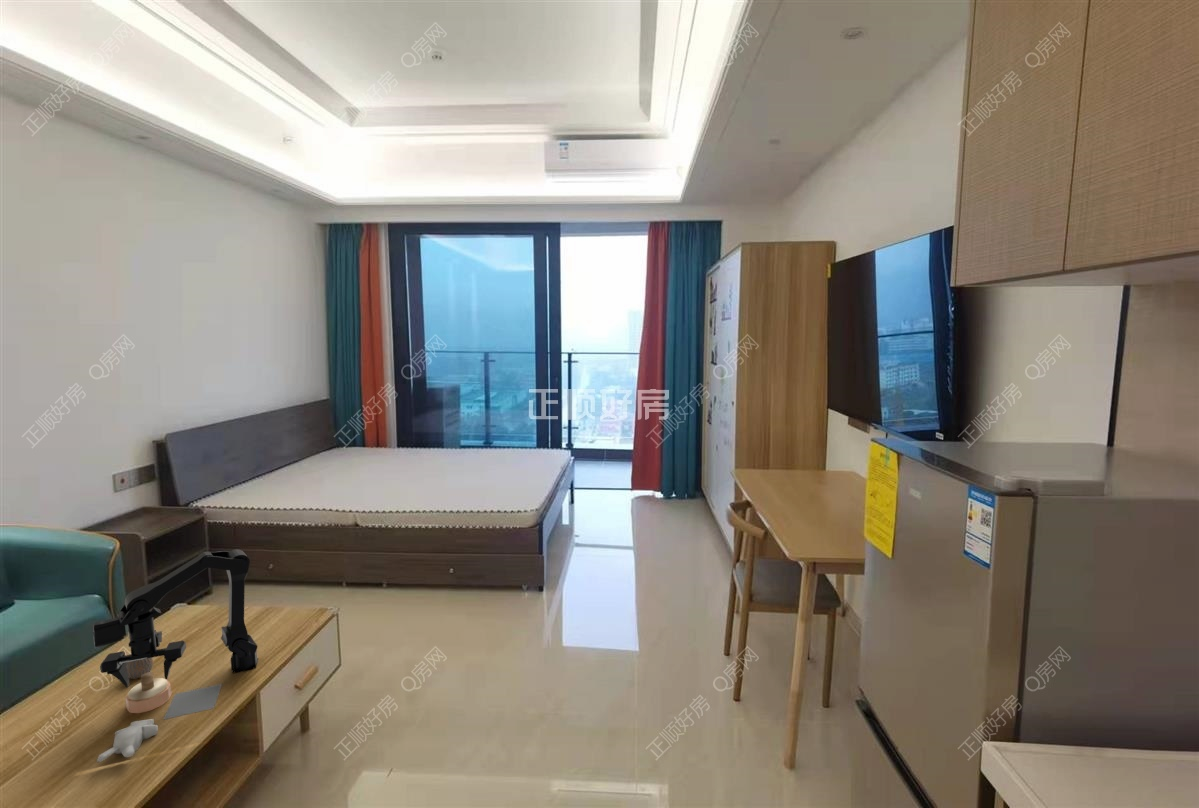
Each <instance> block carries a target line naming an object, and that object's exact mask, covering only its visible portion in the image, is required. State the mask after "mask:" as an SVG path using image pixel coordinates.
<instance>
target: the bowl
mask: <svg viewBox="0 0 1199 808" xmlns="http://www.w3.org/2000/svg"><path fill="white" fill-rule="evenodd" d="M166 680H167V683H168V686H167V688H166V689H165V690H164V691H163V692H162V693H160V694H158V695H156V696H154V697H152V698H149V699H146V700H142V701H132V700H130V699H129V697H128V693H127V694H126V696H125V705H126V710H127V711H128V712H129V713H132V714H133V713H134V714H141V713H145V712H146V713H147V712H150V711H152V710H154V709H157V708H158V707H161V706H163V705H164V704H165V703H166V702H168V701H169V700H170V698H171V696H172V694H173V693H172V686H171V682H170V681H169V680H168V679H166Z"/></svg>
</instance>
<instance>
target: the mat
mask: <svg viewBox="0 0 1199 808" xmlns="http://www.w3.org/2000/svg"><path fill="white" fill-rule="evenodd" d="M222 686H223V683H219V684H213V685H211V686H206V687H200V688H197V689H192V690H187V691H181V692H178V693H177V692H176V693H175V694H174V695H173V697H172V699H171V702H170V703H169V706H168V708H167V711H166V712H165V715H164V717H163V718H162V719H163V721H165V720H169V719H174V718H177V717H181V716H186V715H190V714H191V715H192V714H196V713H199V712H204V711H208V710H213V709H214V708H215V706H216V703H217V700H218V697H219V694H220V693H221V692H220V691H221V689H222Z"/></svg>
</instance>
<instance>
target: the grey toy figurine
mask: <svg viewBox="0 0 1199 808" xmlns="http://www.w3.org/2000/svg"><path fill="white" fill-rule="evenodd" d="M158 732H159V729H158V724H155V718H150V719H143V720H135V721H132V722H130V725H129V726H127V727H125V728H122V729H119V730H116V731H115V732H114V740H113V745H112V747H111V748H108V749H107V750H106V751H104V752H102V753H100V754H99V755H98V757H97V759H96V762H97V763H101V762H102V761H104V760H106V759H108V758H109V757H110V756H112V755H113V754H117V755H118V754H122V756H123V757H124V758H130V757H133V756H134V755H135V754H136V751H138V749H139V748H140V747H141V745H142V742H143V740H146V739H150V738H151V737H154V736H156V735H157V734H158Z"/></svg>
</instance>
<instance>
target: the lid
mask: <svg viewBox="0 0 1199 808" xmlns="http://www.w3.org/2000/svg"><path fill="white" fill-rule="evenodd" d="M167 680H168V679H165V677H164V678H163V677H156V678H154V673H153V672H151V671H150V672H148V673H145V674H143V675H142V676H141V678H140V682H139V683H138V684H135V685H134V686H133V687H132V688H131V689H130V690H129V691H128V692H127V694H128V697H129V699H130V700H132V701H142V700H146V699H149V698H152V697H154V696H156V695H158V694H160V693H162V692H163V691H164V690H165V689H166V688H167V686H168V683H167Z"/></svg>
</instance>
